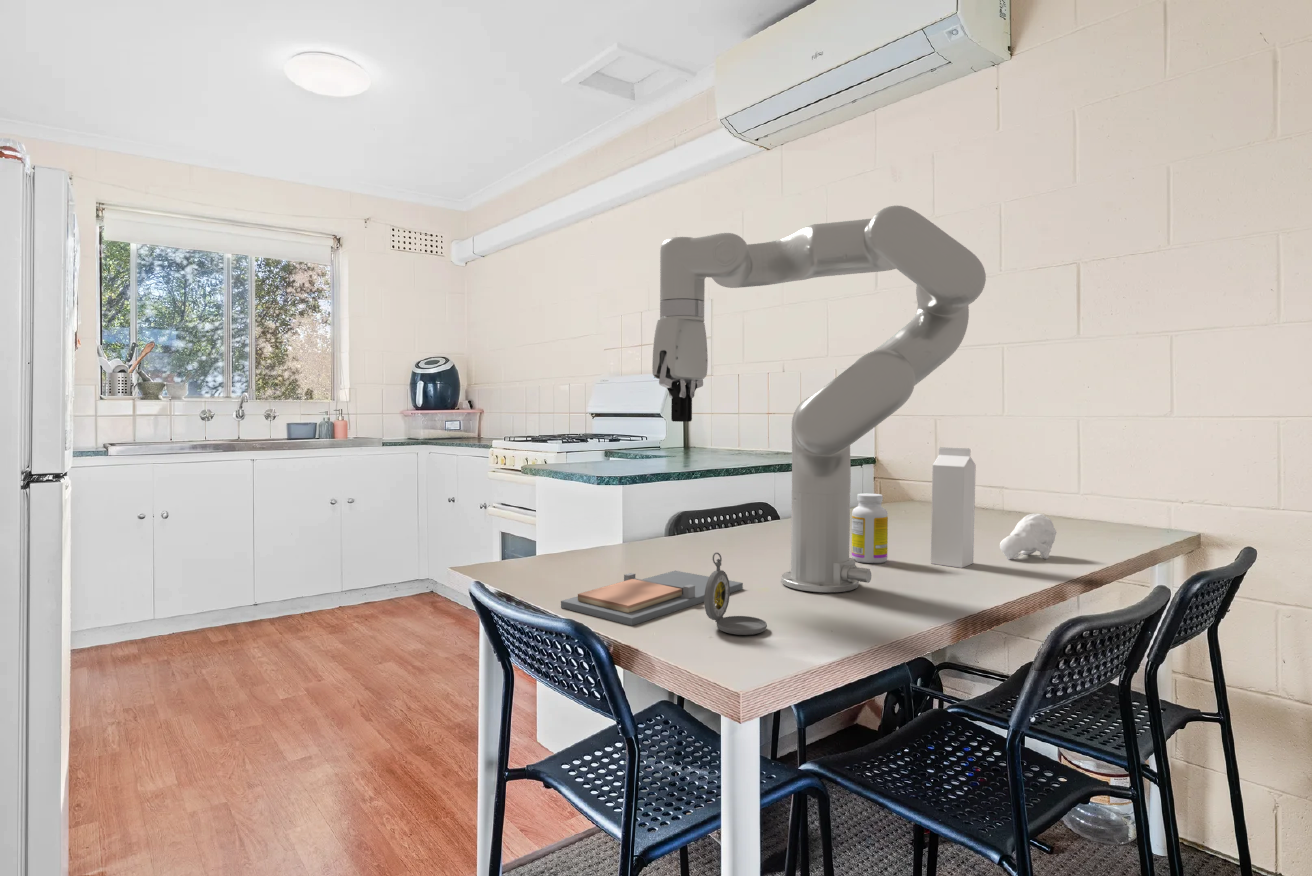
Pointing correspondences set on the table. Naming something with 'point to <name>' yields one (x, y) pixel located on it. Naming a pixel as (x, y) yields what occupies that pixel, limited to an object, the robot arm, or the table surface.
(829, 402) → the robot arm
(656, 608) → the board
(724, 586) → the pocket watch
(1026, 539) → the white animal figurine
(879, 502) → the supplement bottle
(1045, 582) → the table surface
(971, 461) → the milk
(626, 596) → the tile
